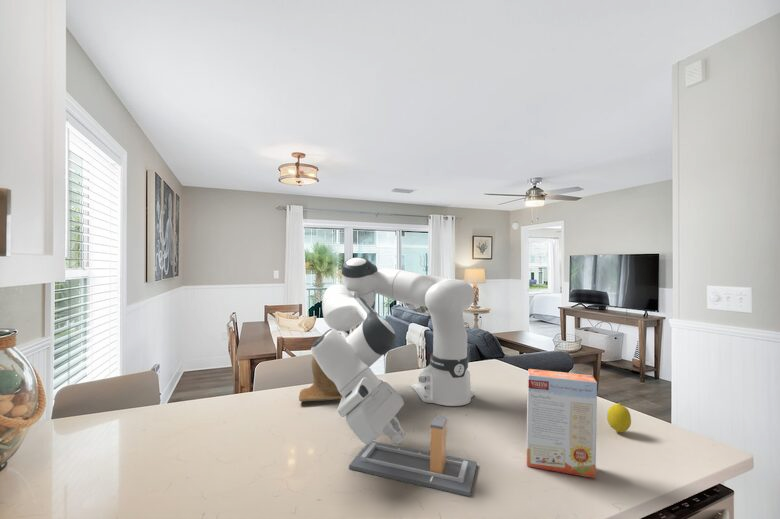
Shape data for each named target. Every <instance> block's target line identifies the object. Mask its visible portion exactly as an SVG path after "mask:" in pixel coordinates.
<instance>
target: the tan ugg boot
mask: <svg viewBox="0 0 780 519" xmlns="http://www.w3.org/2000/svg"><path fill="white" fill-rule="evenodd" d="M311 371H312V377H313V380H312V381H313V382H312V385H311V386H309V387H305V388H302V389H301V390H300V391H299V395H298V401H299V402H322V401H332V400H333V401H334V400H341V398H342V395H341V394H340V393H339V391H338V389H337V387H336V385H335V383H334V382H333V381H332V380H330V379H329V378H328V377H327V376H326V375H325V373H324V372H323V370H322V369H321V368H320V366H319V365H318V363H317V361H316V360H315V358H314V356H313V355H312V358H311Z"/></svg>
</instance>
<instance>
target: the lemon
mask: <svg viewBox="0 0 780 519" xmlns="http://www.w3.org/2000/svg"><path fill="white" fill-rule="evenodd" d="M606 417H607V418H606V419H607V423H608V425H609V427H611V428H612V429H613V430H614V431H615V432H616V433H618V434H620V433H622V432H626V431H628V430H629V429H630V426H631V425H632V417H631V413H630V411H629V409H628V408H627V407H626V406H624V405H623V404H621V403H616V404H612V405H610V407H609V409H608V411H607V415H606Z"/></svg>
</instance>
